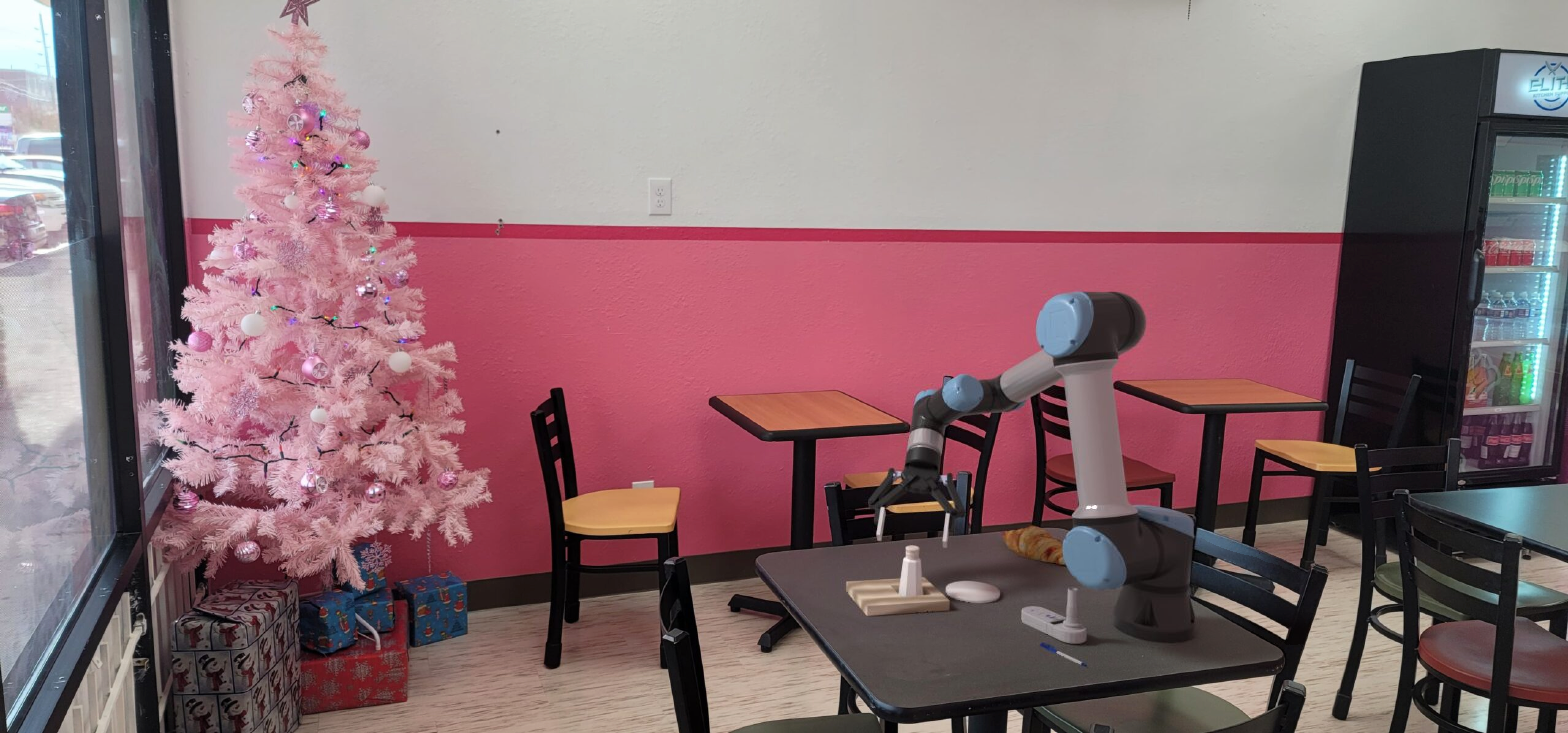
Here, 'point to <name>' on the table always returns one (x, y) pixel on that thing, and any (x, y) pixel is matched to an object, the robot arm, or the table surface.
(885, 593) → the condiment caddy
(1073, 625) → the electronic device
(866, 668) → the table surface
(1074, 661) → the ballpoint pen
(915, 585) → the pepper shaker
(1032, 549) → the croissant
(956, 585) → the saucer
